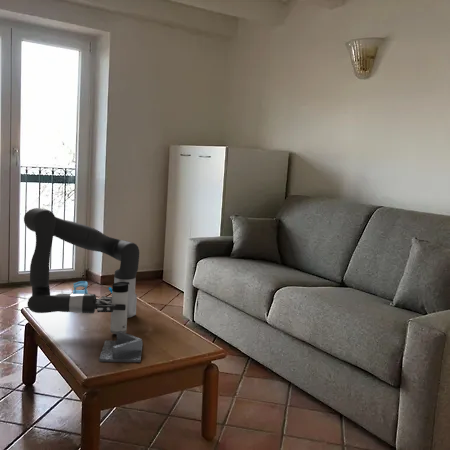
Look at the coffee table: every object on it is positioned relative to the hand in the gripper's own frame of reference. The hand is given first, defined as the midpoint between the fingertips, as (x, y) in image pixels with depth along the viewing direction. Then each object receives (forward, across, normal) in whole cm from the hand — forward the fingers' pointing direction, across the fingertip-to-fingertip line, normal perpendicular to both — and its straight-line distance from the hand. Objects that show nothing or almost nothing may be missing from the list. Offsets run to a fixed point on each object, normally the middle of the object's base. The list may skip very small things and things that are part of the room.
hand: (126, 304), depth 203 cm
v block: (-1, -19, +12) cm, 22 cm away
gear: (-8, +45, +13) cm, 48 cm away
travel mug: (-2, 0, +11) cm, 11 cm away
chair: (-23, +36, +13) cm, 45 cm away
